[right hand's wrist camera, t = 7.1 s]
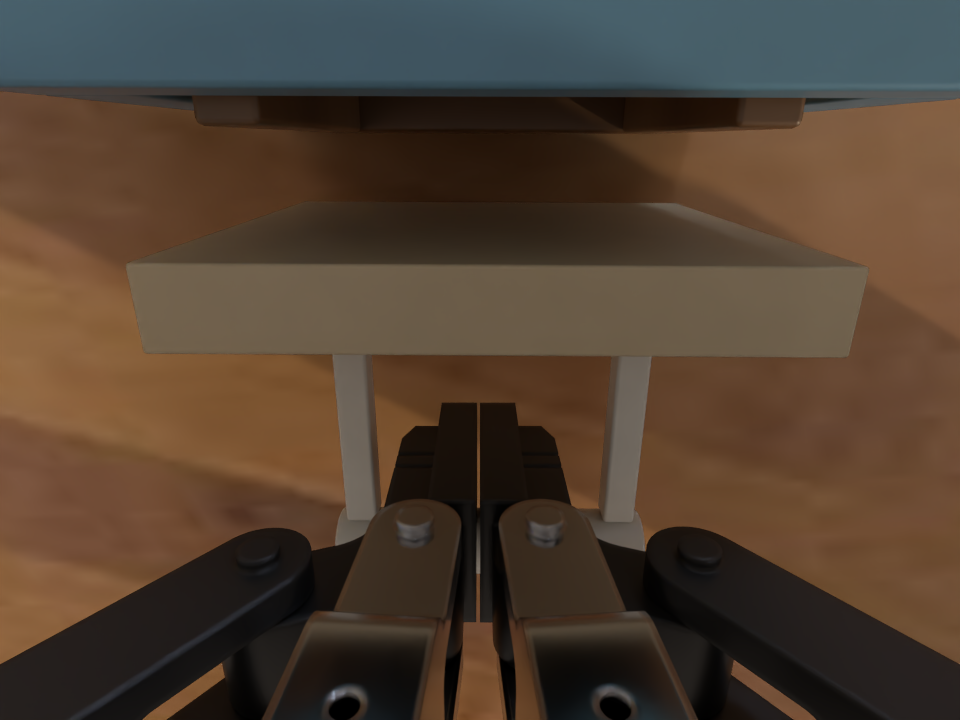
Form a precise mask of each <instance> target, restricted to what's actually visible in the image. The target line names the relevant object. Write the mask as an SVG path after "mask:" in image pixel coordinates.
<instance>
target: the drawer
mask: <svg viewBox="0 0 960 720" xmlns="http://www.w3.org/2000/svg"><path fill="white" fill-rule="evenodd" d="M192 99H193V106H194V112H195V117H196V120H197V122H198V123H199V124H202V125H204V126H217V127H237V128H257V129H277V130H297V131H318V132H347V133H581V134H653V133H681V132H708V131H735V130H762V129H789V128H794V127H797V126H799V125H800V123H801V121H802V116H803V111H804V105H805V100H806V98H725V97H475V96H224V95H192ZM126 270H127V275H128V280H129V285H130V289H131V294H132V299H133V304H134V308H135V313H136V318H137V323H138V327H139V332H140V337H141V342H142V346H143V351H144V352H145V353H147V354H296V355H332V357H333V368H334V379H335V390H336V401H337V412H338V423H339V434H340V445H341V457H342V468H343V479H344V490H345V501H346V507H345V508H344V509H343V510H342V512H341V514H340V517H339V520H338V524H337V530H336V538H335V546H337V545H340V544H344V543H347V542H350V541H352V540H355V539H357V538H359V537H361V536H362V535H364V534H365V533H366V530H367V528H368V526H369V523H370V521H371V520H372V518H373V517H374V516H375V515H376V514H377V513H378V512H379V511H380V510H382V509H383V508H384V507H380V506H381V491H380V476H379V460H378V445H377V430H376V414H375V399H374V384H373V368H372V355H463V356H611V367H610V378H609V390H608V401H607V412H606V423H605V435H604V446H603V457H602V469H601V480H600V491H599V502H598V506H599V509H578V510H580V511H581V512H582V513H583V514H584V515H585V516H586V517H587V518H588V520H589V521H590V523H591V526H592V528H593V530H594V533H595V535H596V537H597V538H599V539H601V540H603V541H605V542H608V543H611V544H615V545H618V546H622V547H627V548H632V549H636V550H641V551H645V540H644V532H643V526H642V522H641V519H640V516H639V514H638V512H637V511H636V510H634V507H635V499H636V490H637V481H638V472H639V464H640V455H641V446H642V438H643V429H644V420H645V411H646V403H647V394H648V385H649V376H650V368H651V359H652V357H797V358H846V357H848V355H849V352H850V348H851V343H852V339H853V335H854V331H855V327H856V323H857V318H858V314H859V310H860V306H861V302H862V298H863V294H864V289H865V285H866V281H867V277H868V273H869V268H868V267H866V266H864V265H861V264H857V263H854V262H851V261H848V260H845V259H842V258H839V257H836V256H833V255H830V254H827V253H824V252H821V251H818V250H815V249H812V248H809V247H806V246H803V245H800V244H797V243H794V242H791V241H788V240H785V239H782V238H779V237H776V236H773V235H770V234H767V233H764V232H761V231H758V230H755V229H752V228H749V227H746V226H743V225H740V224H737V223H734V222H731V221H728V220H725V219H722V218H719V217H716V216H713V215H710V214H707V213H704V212H701V211H698V210H695V209H691V208H688V207H685V206H682V205H679V204H676V203H513V202H302V203H299V204H296V205H294V206H291V207H288V208H285V209H282V210H279V211H276V212H273V213H270V214H268V215H265V216H262V217H259V218H256V219H253V220H250V221H247V222H244V223H241V224H239V225H236V226H233V227H230V228H227V229H224V230H221V231H218V232H215V233H212V234H210V235H207V236H204V237H201V238H198V239H195V240H192V241H189V242H186V243H184V244H181V245H178V246H175V247H172V248H169V249H166V250H163V251H160V252H157V253H155V254H152V255H149V256H146V257H143V258H140V259H137V260H134V261H131V262H129V263H127V264H126ZM476 574H480V508H477V564H476Z"/></svg>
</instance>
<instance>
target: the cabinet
mask: <svg viewBox="0 0 960 720" xmlns="http://www.w3.org/2000/svg"><path fill="white" fill-rule="evenodd" d="M0 91H6V92H15V93H25V94H35V95H47V96H55V97H65V98H75V99H85V100H95V101H105V102H114V103H124V104H134V105H144V106H154V107H164V108H174V109H184V110H194V106H193V99H192V95H224V96H475V97H725V98H806V100H805V105H804V111H803V112H813V111H825V110H836V109H848V108H859V107H871V106H883V105H894V104H906V103H918V102H929V101H941V100H953V99H957V98H960V0H0Z"/></svg>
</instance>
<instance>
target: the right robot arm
mask: <svg viewBox="0 0 960 720" xmlns="http://www.w3.org/2000/svg"><path fill="white" fill-rule="evenodd" d="M476 564H477V403H442V405H441V412H440V419H439V426H415V427H414V428H413V429H412V430H411V431H410V432H409V433H408V434H406V435H405V436H404V437H403V438H402V441H401V445H400V449H399V453H398V456H397V460H396V464H395V468H394V472H393V476H392V479H391V483H390V487H389V491H388V495H387V499H386V502H385V506H384V508H383V509H382V510H380V511H379V512H378V513H377V514H376V515H375V516H374V517H373V518H372V520H371V521H370V523H369V526H368V528H367V530H366V533H365V534H364V535H362V536H361V537H359V538H357V539H355V540H352V541H350V542H347V543H344V544H340V545H337V546H332V547H328V548H323V549H318V550H314V551H311V546H310V543H309V541H308V540H307V538H306V537H304V536H303V535H302V534H300V533H298V532H296V531H293V530H290V529H284V528H265V529H260V530H255V531H251V532H248V533H245V534H242V535H240V536H238V537H235V538H233V539H231V540H229V541H228V542H226V543H224V544H222V545H220V546H218V547H217V548H215V549H213V550H211V551H209V552H207V553H205V554H204V555H202V556H200V557H198V558H196V559H194V560H192V561H191V562H189V563H187V564H185V565H183V566H181V567H180V568H178V569H176V570H174V571H172V572H170V573H168V574H167V575H165V576H163V577H161V578H159V579H157V580H155V581H154V582H152V583H150V584H148V585H146V586H144V587H143V588H141V589H139V590H137V591H135V592H133V593H131V594H130V595H128V596H126V597H124V598H122V599H120V600H118V601H117V602H115V603H113V604H111V605H109V606H107V607H106V608H104V609H102V610H100V611H98V612H96V613H94V614H93V615H91V616H89V617H87V618H85V619H83V620H82V621H80V622H78V623H76V624H74V625H72V626H70V627H69V628H67V629H65V630H63V631H61V632H59V633H57V634H56V635H54V636H52V637H50V638H48V639H46V640H45V641H43V642H41V643H39V644H37V645H35V646H33V647H32V648H30V649H28V650H26V651H24V652H22V653H20V654H19V655H17V656H15V657H13V658H11V659H9V660H8V661H6V662H4V663H2V664H0V720H142V719H143V718H144V717H146V716H147V715H148V714H149V713H150V712H152V711H153V710H154V709H156V708H157V707H159V706H160V705H161V704H163V703H164V702H166V701H167V700H169V699H170V698H171V697H173V696H174V695H176V694H177V693H179V692H180V691H181V690H183V689H184V688H186V687H187V686H189V685H190V684H191V683H193V682H194V681H196V680H197V679H199V678H200V677H202V676H203V675H204V674H206V673H207V672H209V671H210V670H212V669H213V668H214V667H216V666H217V665H219V664H220V663H222V665H223V670H224V675H225V678H224V679H222V680H221V681H220V682H218V683H217V684H216V685H214V686H213V687H211V688H210V689H209V690H207V691H206V692H204V693H203V694H202V695H200V696H199V697H197V698H196V699H195V700H193V701H192V702H191V703H189V704H188V705H186V706H185V707H184V708H182V709H181V710H179V711H178V712H177V713H175V714H174V715H173V716H171V717H170V718H168V719H167V720H457V713H458V705H459V697H460V688H461V680H462V672H463V622H476ZM480 622H492V623H493V643H494V647H495V649H496V651H497V672H498V680H499V688H500V697H501V705H502V713H503V720H793V719H792V718H790V717H789V716H787V715H786V714H785V713H783V712H782V711H781V710H779V709H778V708H776V707H775V706H774V705H772V704H771V703H769V702H768V701H767V700H765V699H764V698H762V697H761V696H760V695H758V694H757V693H756V692H754V691H753V690H751V689H750V688H749V687H747V686H746V685H744V684H743V683H742V682H740V681H739V680H738V679H736V678H735V677H733V676H732V675H731V672H732V667H733V662H734V660H736V661H737V662H738V663H740V664H741V665H743V666H744V667H746V668H747V669H748V670H750V671H751V672H753V673H754V674H756V675H757V676H758V677H760V678H761V679H763V680H764V681H766V682H767V683H768V684H770V685H771V686H773V687H774V688H776V689H777V690H779V691H780V692H781V693H783V694H784V695H786V696H787V697H789V698H790V699H791V700H793V701H794V702H796V703H797V704H799V705H800V706H801V707H803V708H804V709H805V710H807V711H808V712H809V713H810V714H811V715H812V716H814V717H815V719H816V720H960V664H958V663H956V662H954V661H952V660H951V659H949V658H947V657H945V656H943V655H941V654H939V653H938V652H936V651H934V650H932V649H930V648H928V647H927V646H925V645H923V644H921V643H919V642H917V641H915V640H914V639H912V638H910V637H908V636H906V635H904V634H903V633H901V632H899V631H897V630H895V629H893V628H891V627H890V626H888V625H886V624H884V623H882V622H880V621H878V620H877V619H875V618H873V617H871V616H869V615H867V614H866V613H864V612H862V611H860V610H858V609H856V608H854V607H853V606H851V605H849V604H847V603H845V602H843V601H841V600H840V599H838V598H836V597H834V596H832V595H830V594H829V593H827V592H825V591H823V590H821V589H819V588H817V587H816V586H814V585H812V584H810V583H808V582H806V581H804V580H803V579H801V578H799V577H797V576H795V575H793V574H792V573H790V572H788V571H786V570H784V569H782V568H780V567H779V566H777V565H775V564H773V563H771V562H769V561H768V560H766V559H764V558H762V557H760V556H758V555H756V554H755V553H753V552H751V551H749V550H747V549H745V548H743V547H742V546H740V545H738V544H736V543H734V542H732V541H731V540H729V539H727V538H725V537H723V536H721V535H719V534H716V533H713V532H711V531H708V530H704V529H700V528H694V527H672V528H667V529H664V530H661V531H659V532H657V533H655V534H654V535H653V536H652V537H651V538H650V539H649V541H648V544H647V548H646V552H645V551H641V550H636V549H632V548H627V547H622V546H618V545H615V544H611V543H608V542H605V541H603V540H601V539H599V538H597V537H596V535H595V533H594V530H593V528H592V526H591V523H590V521H589V520H588V518H587V517H586V516H585V515H584V514H583V513H582V512H581V511H580V510H578V509H577V508H575V507H573V506H571V502H570V498H569V494H568V490H567V486H566V482H565V478H564V474H563V470H562V468H561V462H560V458H559V456H558V450H557V446H556V442H555V438H554V437H552V436H551V435H550V434H549V433H548V432H547V431H546V430H545V429H544V428H543V427H542V426H518V421H517V413H516V406H515V403H480Z"/></svg>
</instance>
